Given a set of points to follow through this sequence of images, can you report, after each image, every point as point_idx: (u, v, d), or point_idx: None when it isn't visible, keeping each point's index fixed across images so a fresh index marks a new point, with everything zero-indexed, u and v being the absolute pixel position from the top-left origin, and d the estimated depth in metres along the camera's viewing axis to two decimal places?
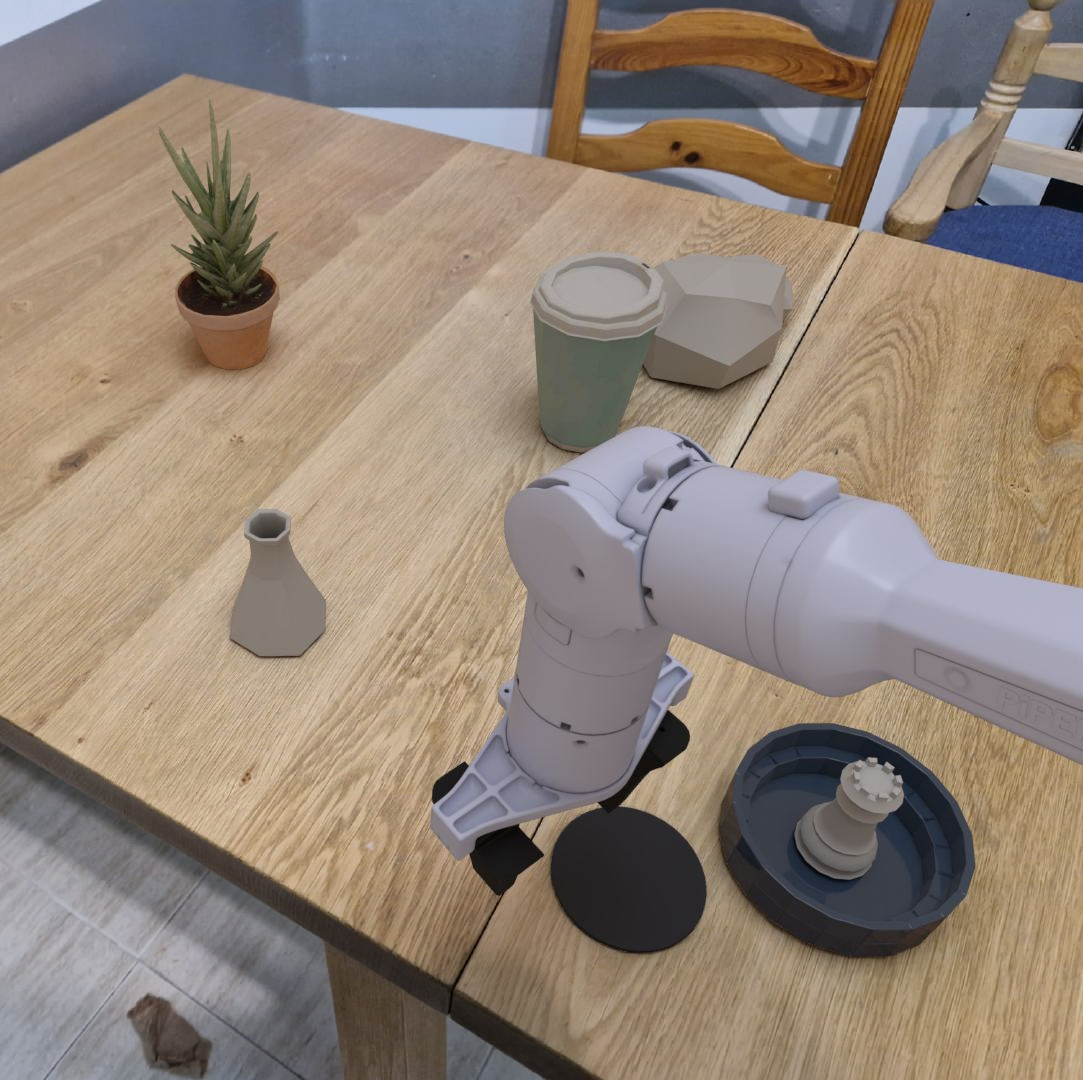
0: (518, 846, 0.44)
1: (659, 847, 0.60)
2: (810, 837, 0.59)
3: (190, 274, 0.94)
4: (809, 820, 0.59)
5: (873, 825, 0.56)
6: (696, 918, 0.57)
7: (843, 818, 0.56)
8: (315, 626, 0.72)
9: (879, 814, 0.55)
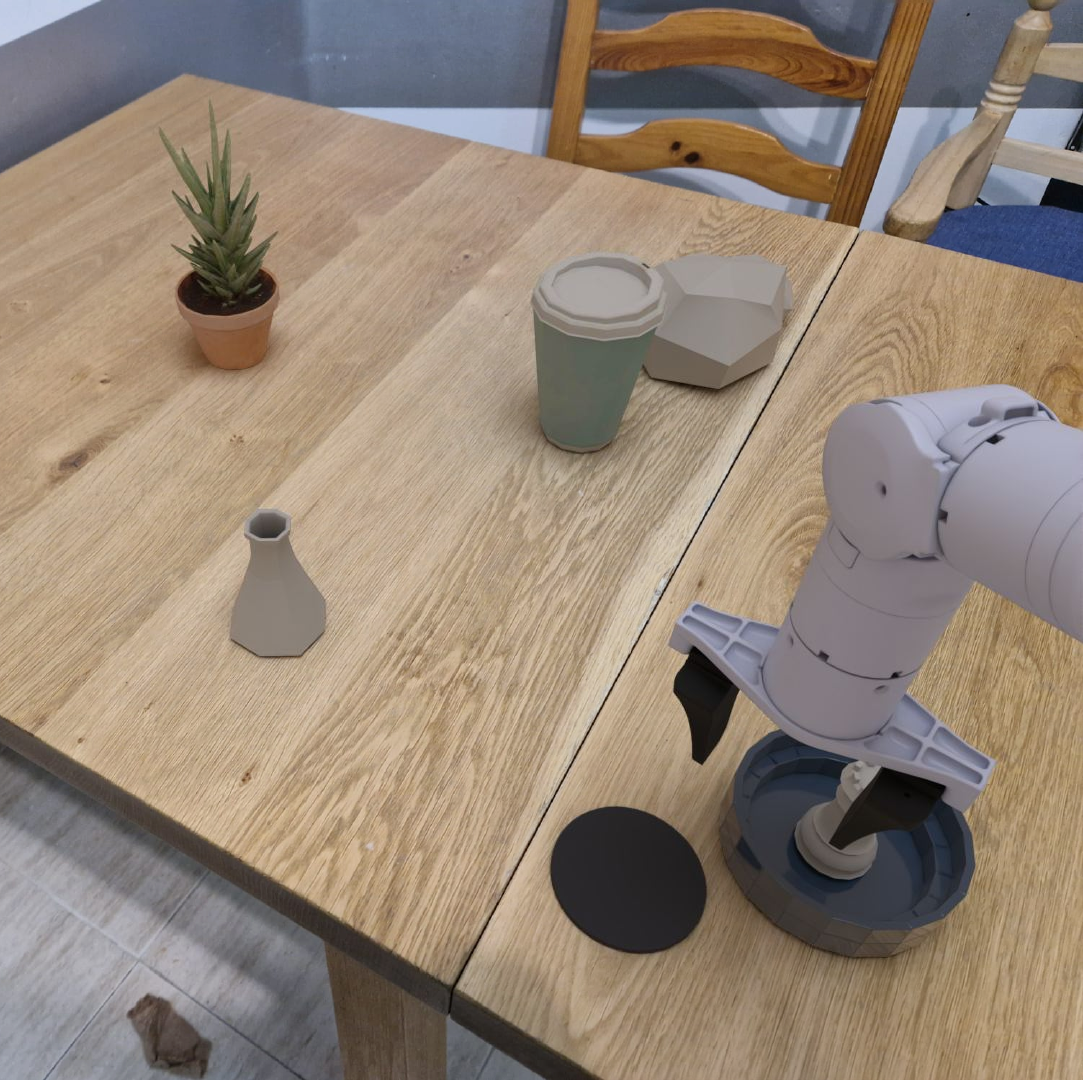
0: (707, 690, 0.49)
1: (659, 847, 0.60)
2: (810, 837, 0.59)
3: (190, 274, 0.94)
4: (809, 820, 0.59)
5: None
6: (696, 918, 0.57)
7: None
8: (315, 626, 0.72)
9: None
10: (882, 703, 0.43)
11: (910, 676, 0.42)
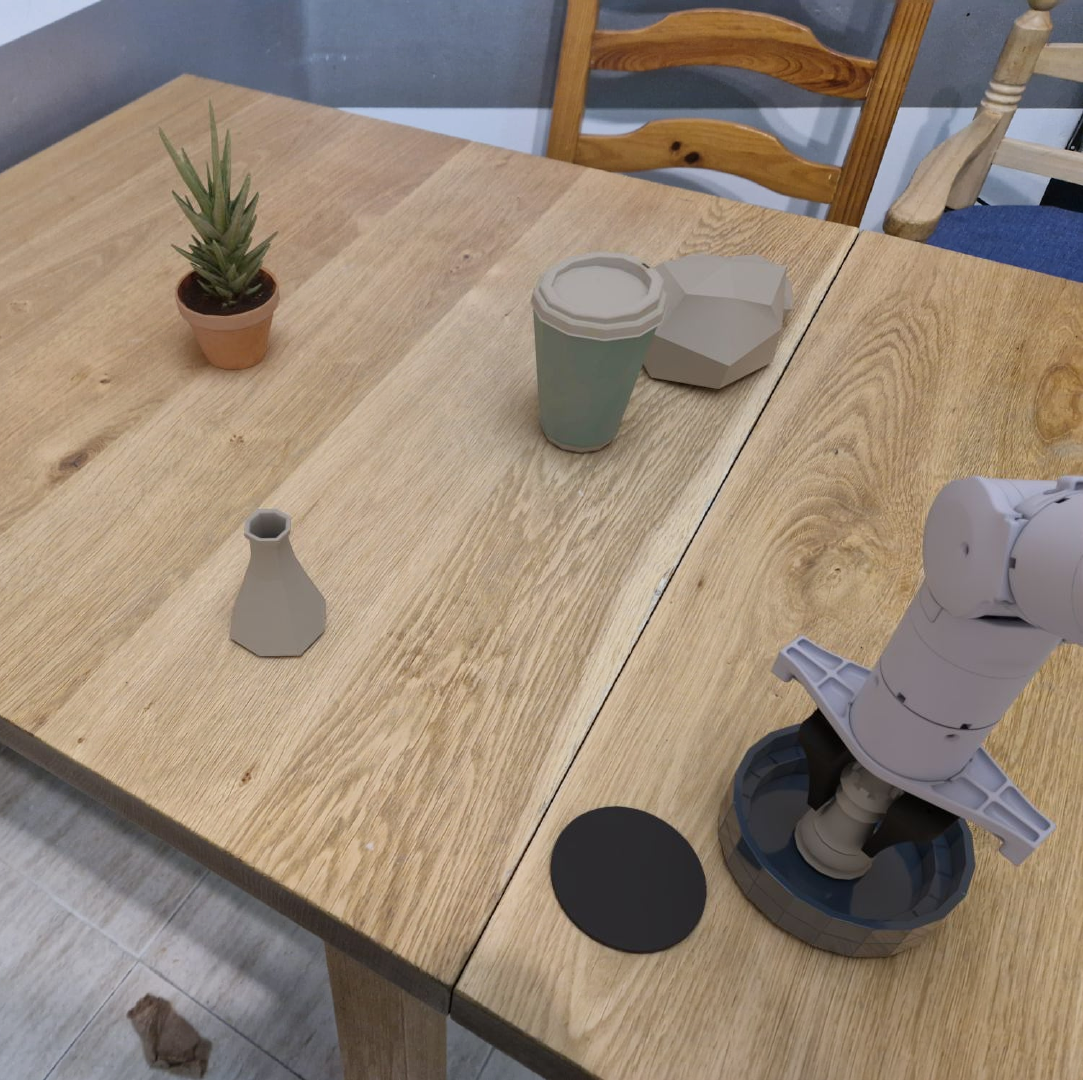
0: (830, 741, 0.54)
1: (659, 847, 0.60)
2: (810, 837, 0.59)
3: (190, 274, 0.94)
4: (809, 820, 0.59)
5: (873, 825, 0.56)
6: (696, 918, 0.57)
7: (842, 818, 0.56)
8: (315, 626, 0.72)
9: (879, 813, 0.55)
10: (952, 751, 0.47)
11: (981, 731, 0.46)
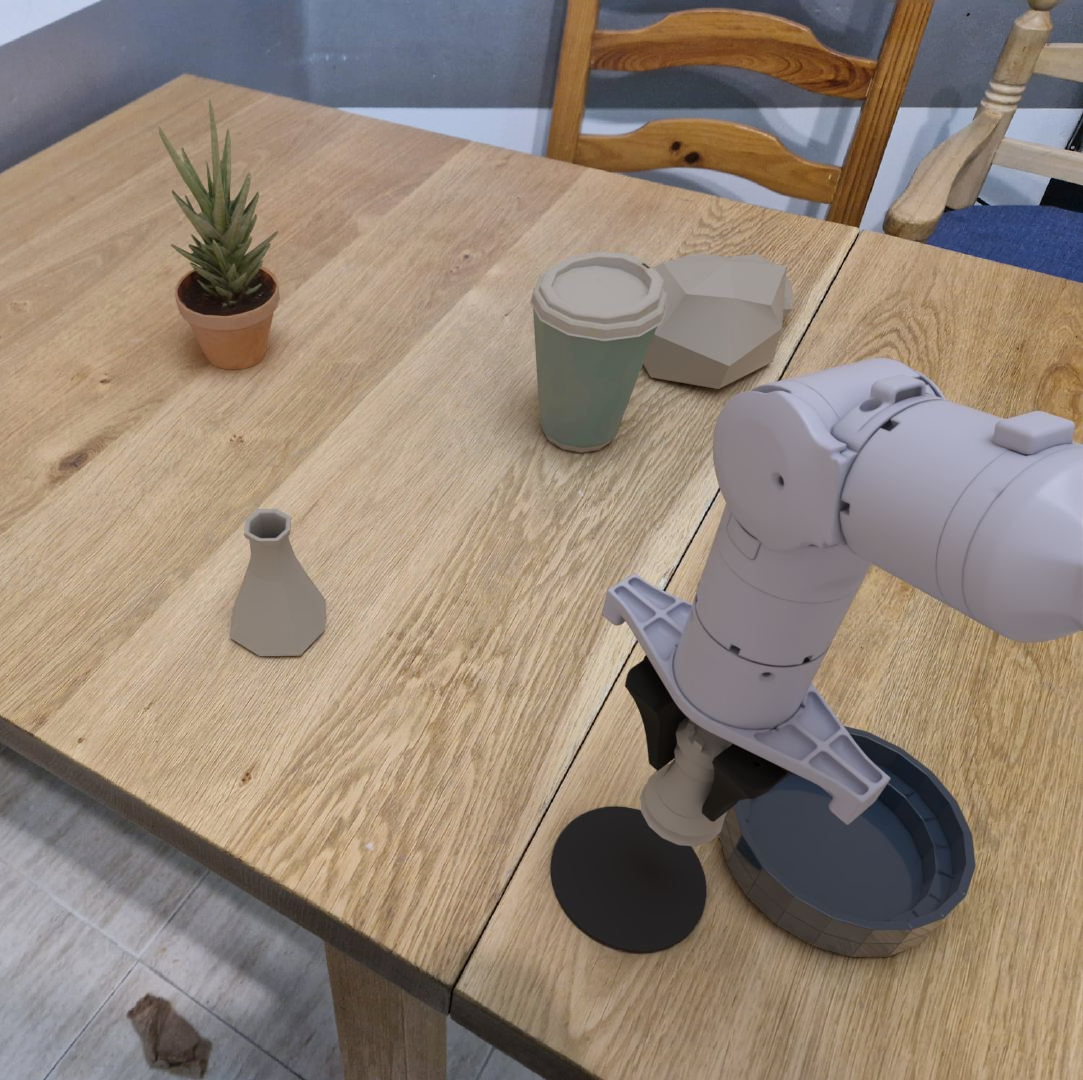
0: (658, 689, 0.48)
1: (659, 847, 0.60)
2: (652, 799, 0.53)
3: (190, 274, 0.94)
4: (653, 781, 0.54)
5: None
6: (696, 918, 0.57)
7: (681, 777, 0.51)
8: (315, 626, 0.72)
9: None
10: (771, 693, 0.42)
11: (799, 669, 0.41)
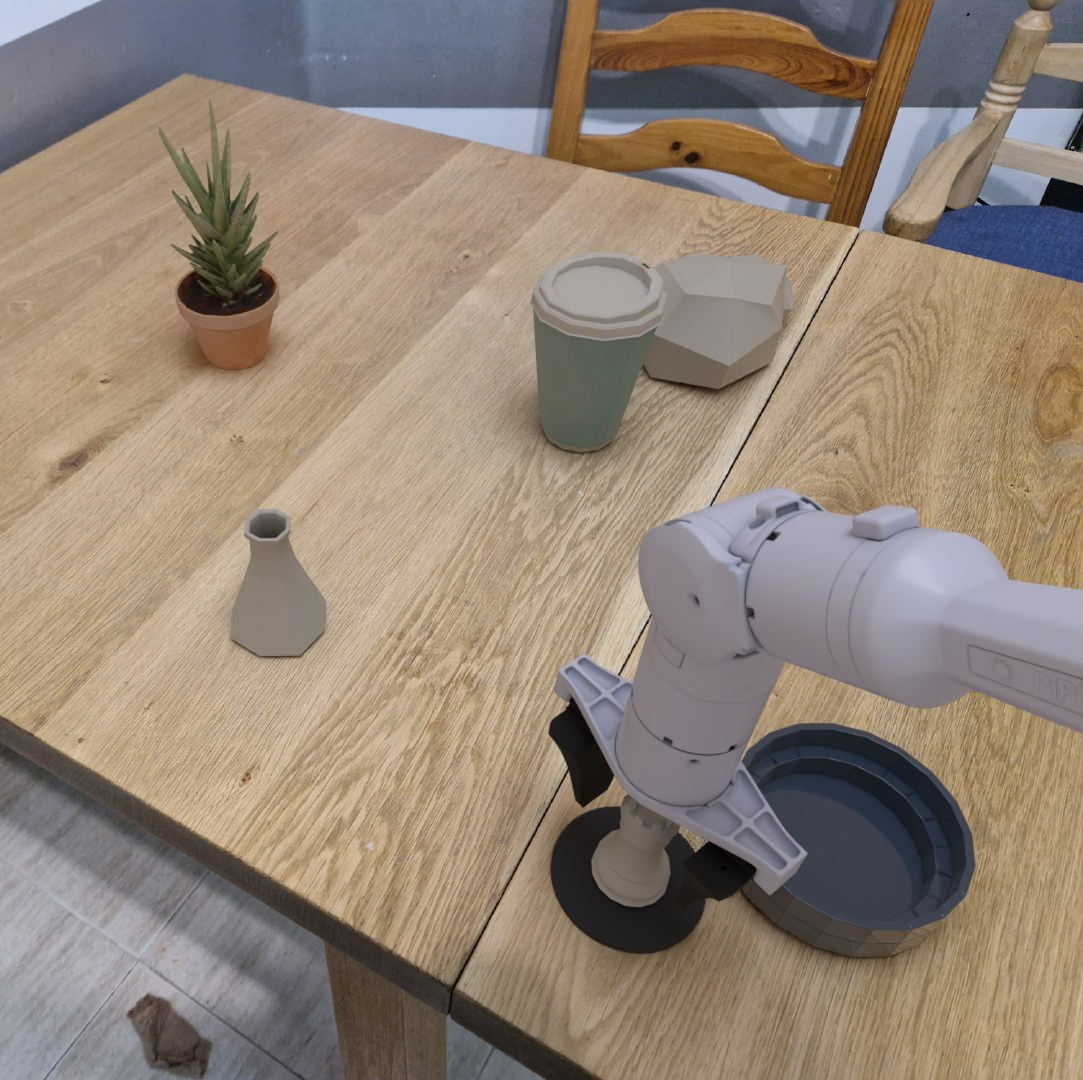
0: (576, 738, 0.53)
1: None
2: (602, 863, 0.58)
3: (190, 274, 0.94)
4: (603, 846, 0.58)
5: (656, 853, 0.55)
6: (696, 918, 0.57)
7: (626, 846, 0.55)
8: (315, 626, 0.72)
9: (659, 842, 0.54)
10: (699, 777, 0.46)
11: (723, 756, 0.45)
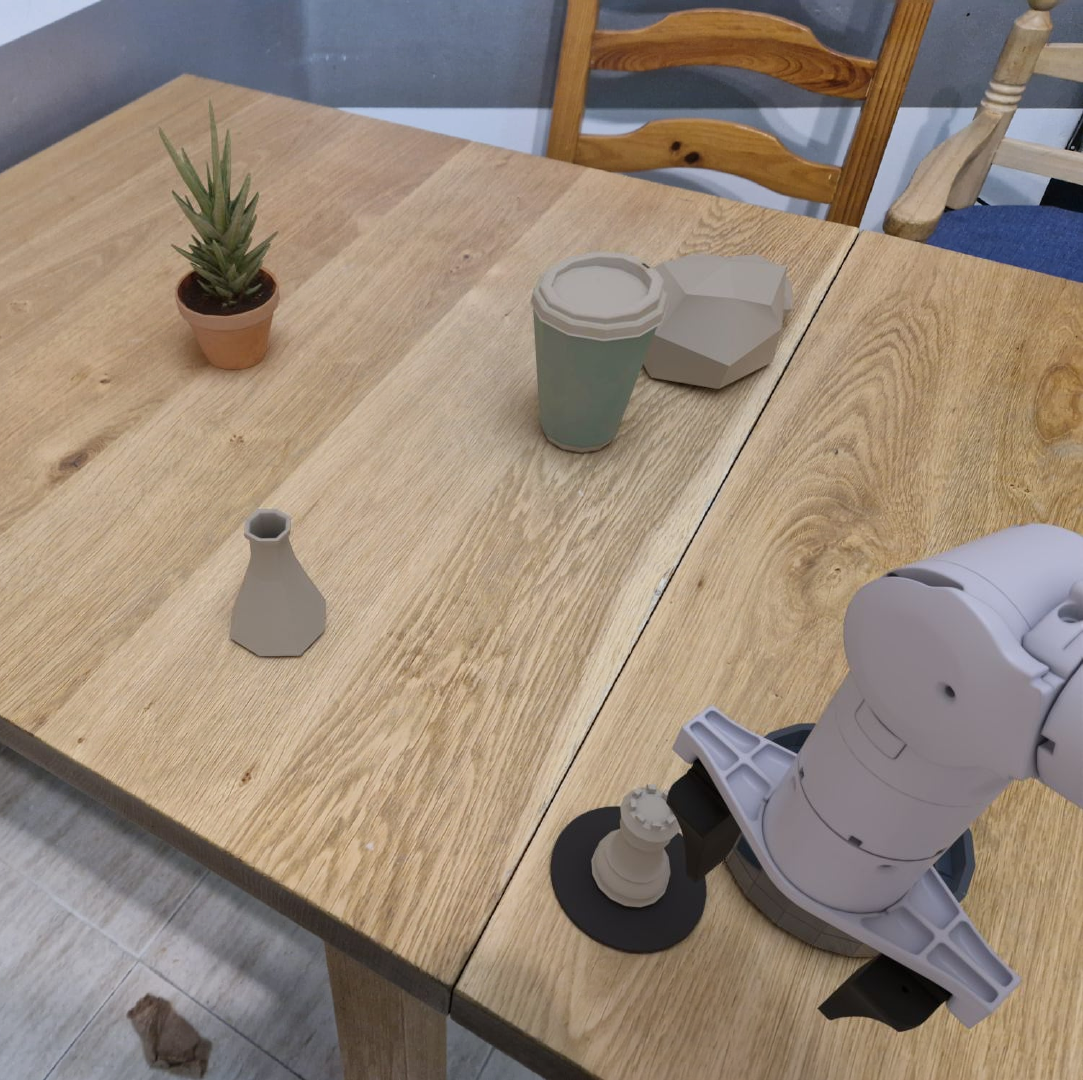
0: (703, 810, 0.43)
1: None
2: (602, 863, 0.58)
3: (190, 274, 0.94)
4: (603, 846, 0.58)
5: (656, 853, 0.55)
6: (696, 918, 0.57)
7: (626, 846, 0.55)
8: (315, 626, 0.72)
9: (659, 842, 0.54)
10: (888, 883, 0.36)
11: (925, 861, 0.35)
